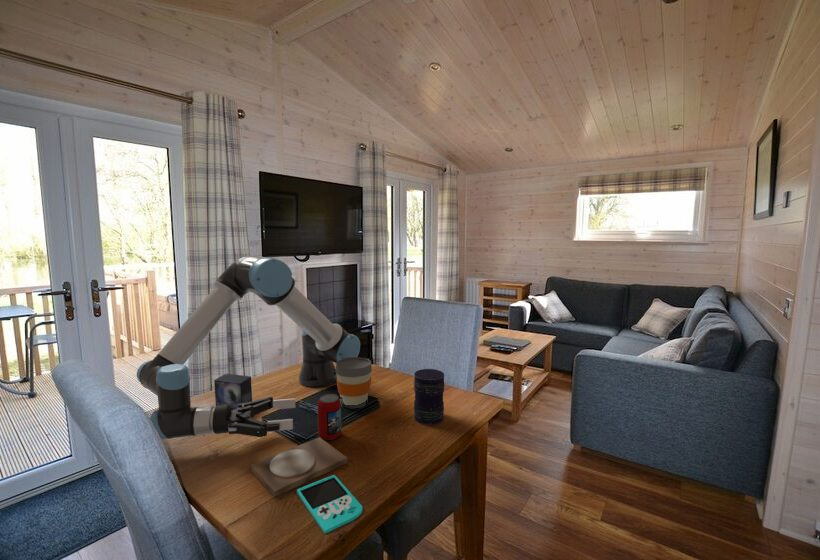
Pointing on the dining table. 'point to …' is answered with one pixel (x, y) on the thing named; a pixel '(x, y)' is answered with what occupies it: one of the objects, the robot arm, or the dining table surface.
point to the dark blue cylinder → (428, 396)
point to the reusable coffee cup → (353, 379)
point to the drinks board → (297, 466)
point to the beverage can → (329, 417)
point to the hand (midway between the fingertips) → (294, 412)
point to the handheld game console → (330, 503)
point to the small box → (233, 390)
